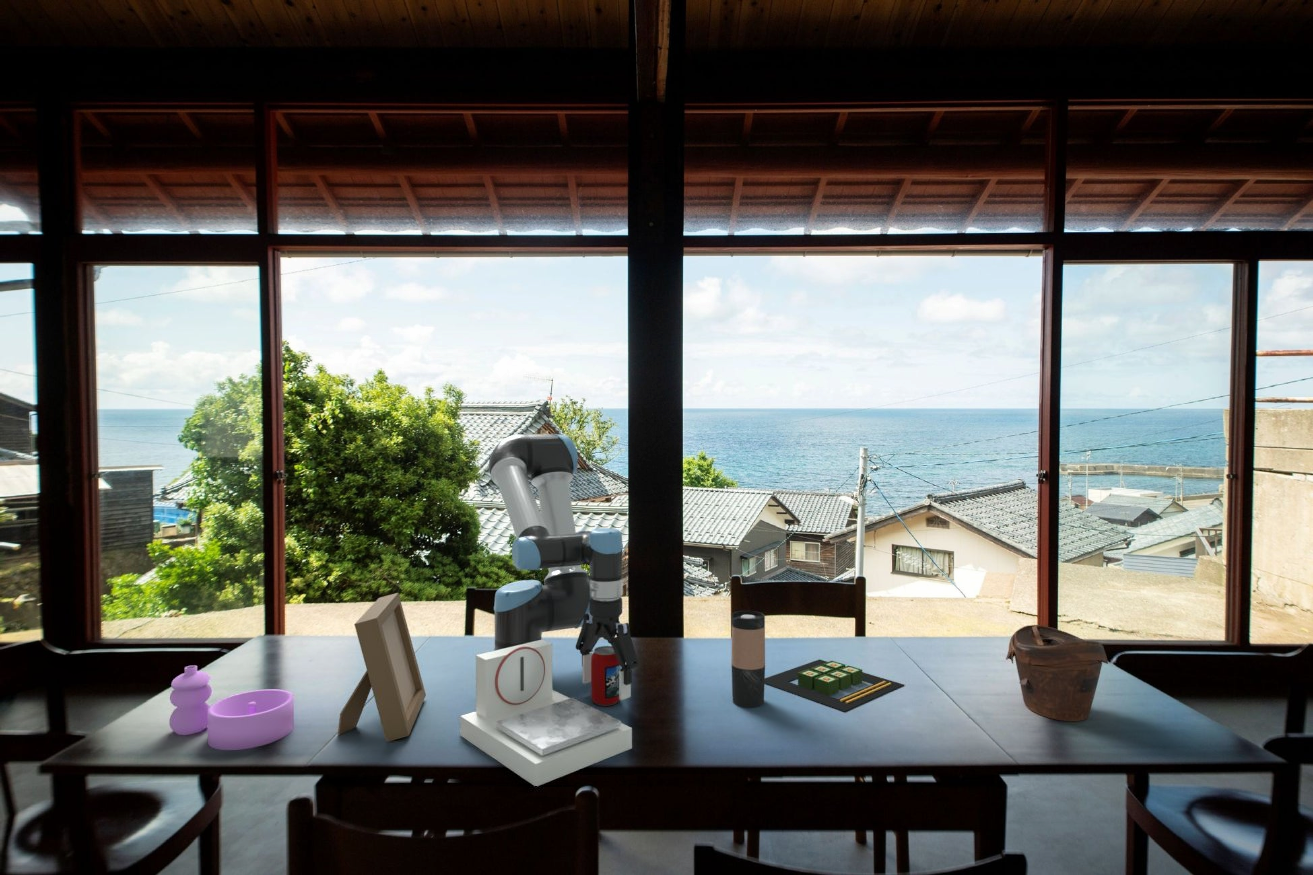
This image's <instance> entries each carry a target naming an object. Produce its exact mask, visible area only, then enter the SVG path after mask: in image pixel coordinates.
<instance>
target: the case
mask: <svg viewBox="0 0 1313 875" xmlns="http://www.w3.org/2000/svg"><path fill="white" fill-rule="evenodd" d="M1014 659H1015V665H1016V670H1017V674H1018V680H1019V684H1020V689H1021V695H1022V700H1023V703H1024V705H1025V707H1026V708H1027V709H1029V710H1030V711H1031V712H1033V713H1035V714H1037V715H1040V716H1043V717H1045V718H1048V719H1053V720H1057V721H1062V722H1063V721H1064V722H1080V721H1084V720H1087V719H1088V718H1089V717H1090V714H1091V709H1092V706H1093V702H1094V699H1095V695H1096V691H1097V687H1098V683H1099V679H1100V675H1101V672H1102V671H1101V670H1102V667H1103V663H1104V664H1107V665H1108V664H1109V661H1108V658H1107V654H1106V651H1105V648H1104V645H1102V644H1101V642H1099V641H1091V640H1085V639H1083V638H1080V637H1079V636H1076V635H1074V634H1072V633H1069V632H1066V631H1063V630H1061V629H1057V628H1054V627H1050V626H1046V625H1040V624H1032V625H1031V624H1030V625H1025V626H1022V627H1020V628H1019V629H1017V630H1016V631H1015V632H1014V633H1013V634H1012V636H1010V640H1009V644H1008V650H1007V654H1006V656H1005V660H1010V661H1011V664H1012V665H1014Z"/></svg>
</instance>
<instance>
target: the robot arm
mask: <svg viewBox="0 0 1313 875" xmlns="http://www.w3.org/2000/svg"><path fill="white" fill-rule="evenodd" d="M578 461H579V455H578V451H577V448H576V445H575V442H574V441H573V439H571V437H569V436H568V435H566V434H557V433H549V434H548V433H547V434H540V433H539V434H537V433H536V434H528V433H527V434H526V433H525V434H521V433H520V434H512V435H509V436H507V437H504V439H502V440H501V441H500V442H498V443H497V445H495V447H494V449H493V450H492V452H491V455H490V456H489V461H488V471H489V475H490V478H491V481H492V483H494V484H495V485H496V486H498V490H499V491H500V495H501V497H502V500H503V502H504V506H505V508H506V510H507V511H506V512H507V514H508V517H509V519H510V523H511V525H512V528H513V532H514V533H515V537H516V538H515V539H514V540H513V543H512V545H511V556H512V563H513V565H514V567H515V568H516V569H517V570H519V571H525V570H526V571H529V570H531V571H537V570H543V569H548V574H547V575H546V576H545V577H544V579H543V581H544V585H543V584H542V582H541V581H539V580H538V579H537V580H536V579H528V580H527V579H523V580H518V581H513V582H511V583H506V584H504V585H502V586H501V587H499V588H498V589H497V590H496V592H495V594H494V606H493V611H494V647H493V651H496V650H500V649H504V648H508V647H513V646H517V645H521V644H525V643H530V642H534V641H538V640H542V636H543V633H546V632H547V633H548V632H555V631H561V630H568V629H575V630H576V629H578V628H581V629H580V631H579V635H578V638H577V641H576V644H575V649H576V651H579V653H580V654H581V666H582V684H589V683H591V657H592V655H593V653H594V649H595V648H594V647H596V645H597V643H598V641H599V640H600V639H601V638H603V639H604V640H605V641H607V642H608V644H610V646H612V648H613V650H614V652H615V654H616V657H617V659H618V661H619V663H620V666H621V669H620V670H619V699H620V700H619V701H623V700H626V699H629V698H631V697H632V696H631V695H632V694H631V692H632V691H631V690H632V689H631V688H632V684H633V670H634V669H637V668H639V666H640V663H639V661H638V660H639V659H638V657H637V653H636V650H635V647H634V643H633V639H632V636H631V631H630V623H628V622H625V623H621V621H620V616H621V615H622V614H623V598H622V596H623V591H624V590H623V548H624V543H623V534H622V532H621V530H619V529H616V528H608V527H607V528H605V527H604V528H602V527H601V528H595V529H592V530H590V531H589V530H580V531H577V532H576V525H575V518H574V511H573V505H572V498H571V491H570V483H571V482H572V480H573V479H574V475H575V474H576V472H577V471H578V466H579V463H578ZM528 477H530V483H531V485H532V486H534V487H535V488H537V493H538V499H539V500H538V502H539V505H538V502H537V500H536V497H535V495H534V493H533V490H532V488H531V485H530V483H529V479H528ZM539 507H540V508H539ZM586 565H587V566H589V567H588V568H589V573H588V571H586V570H585V569H583V568H582V566H586ZM592 652H593V653H592Z"/></svg>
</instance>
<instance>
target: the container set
mask: <svg viewBox="0 0 1313 875" xmlns="http://www.w3.org/2000/svg"><path fill="white" fill-rule="evenodd" d="M210 680H211V676H210V675H209V674H208V673H207V672H204V671H201V670H200V671H199V670H198V665H188V666H184V673H181V674H179V675H178V676H176V677H175V678H173V680H172V681H171V684H170V685H171V688H172V689H173V690H172V691H171V693H170V695H169V700H170V703H171V704H172V706H173V707H175V708H174V710H173V711H172V712H171V715H170V718H169V722H168V723H169V727H170V729H171V730H172V731H173V732H174V733H175V734H177V735H178V736H190V735H194V734H197V733H201V732H202V731H204V730H205V729H206V728H207V744H208V745H209V747H210V748H213V749H216V750H220V751H238V750H239V751H240V750H247V749H252V748H257V747H262V746H265V745H269V744H272V743H274V742H276V741H279V740H280V739H283V738H284V737H286V736H287V735H289V734H290V733H291V732H292V731H293V730H294V727H295V722H294V721H295V716H294V715H295V714H294V713H295V712H294V710H295V709H294V708H295V706H294V702H295V701H294V694H293V693H292V692H290V691H288V690H285V689H276V688H274V689H272V688H271V689H269V688H267V689H257V690H250V691H245V692H240V693H237V694H233V695H230V696H229V695H228V696H227V697H223V698H222V699H219V700H217V701H215V702H214V703H213V704H211V705H209V704H208V703H207V701H208V700H209V699H210V697H211V695H212V686H211V685H210Z"/></svg>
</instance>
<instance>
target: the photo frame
mask: <svg viewBox="0 0 1313 875" xmlns="http://www.w3.org/2000/svg"><path fill="white" fill-rule="evenodd" d="M400 597H401V596H400V594H399V592H396V593H392V594H388V595H385V596H381V597H378V598H377V599H376V600H375V601H374V603H372V605H371V606H370V607H369V608H368V609H367V610H366V611H365V612H364V613H363V614H362V615H361V616H360V617H359V618H358V619H357V621H356V622H355V623H354V629H355V632H356V635H357V638H358V644H359V646H360V651H361V653H362V658H363V661H364V665H365V668H366V670H365V673H364V674H363V676H362V678H361V679H360V680H359V682H358V684H357V686H355V689H354V690H353V692H352V694H351V695H350V697H349V698H348V701H347V702H346V703H345V705H344V707H343V708H342V710H341V711H340V713H339V720H338V729H337V735H339V736H340V735H342V734H344V733H347V732H348V731H349V732H350V731H351V730H353V729H355V728H356V727H358V723H359V721H360V717H361V716H362V713H363V710H364V708H365V705H366V702H367V699H368V696H369V694H370V692H371V690H372V694H373V697H374V701H375V704H376V709H377V712H378V716H379V719H380V722H381V727H382V729H383V734H384V737H385V741H386V743H389V742H393V741H396V740H399V739H401V738H405V737H409V736H410V734H411V731H412V730H413V726H414V724H415V721H416V719H417V718H418V714H419V712H420V710H421V707H422V705H423V703H424V701H425V698H426V696H427V694H426V690H425V687H424V686H425V685H424V683H423V678H422V676H421V675H422V674H421V671H420V668H419V664H418V661H417V657H416V654H415V653H416V652H415V650H414V647H413V641H412V640H411V639H412V638H411V634H410V630H409V628H408V623H407V619H406V616H405V612H404V608H403V604H402V602H401V598H400Z"/></svg>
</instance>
